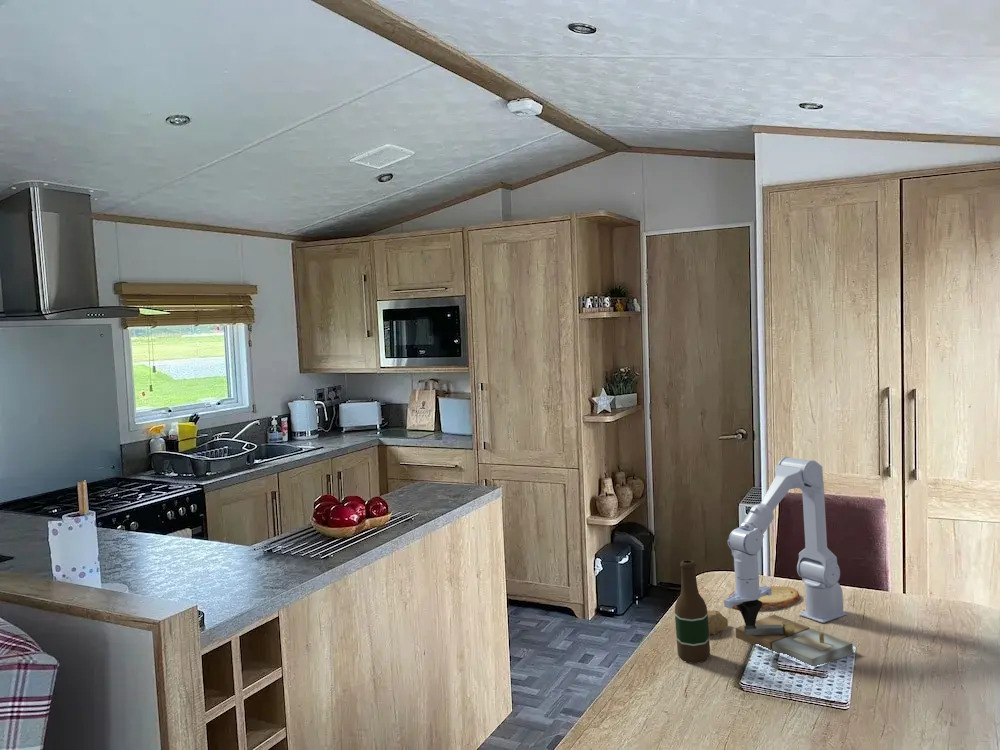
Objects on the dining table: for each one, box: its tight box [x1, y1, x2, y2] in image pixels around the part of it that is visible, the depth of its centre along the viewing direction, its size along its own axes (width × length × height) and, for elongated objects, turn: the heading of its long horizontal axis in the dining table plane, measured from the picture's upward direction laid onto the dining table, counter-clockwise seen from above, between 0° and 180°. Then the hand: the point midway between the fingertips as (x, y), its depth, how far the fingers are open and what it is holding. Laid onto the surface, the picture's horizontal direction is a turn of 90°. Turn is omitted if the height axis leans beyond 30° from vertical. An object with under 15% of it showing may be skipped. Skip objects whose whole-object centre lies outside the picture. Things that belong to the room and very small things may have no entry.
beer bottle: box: [674, 559, 711, 664], centre depth 197 cm, size 8×8×24 cm
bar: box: [744, 621, 795, 636], centre depth 201 cm, size 12×3×3 cm, turn 84°
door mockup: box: [735, 614, 854, 666], centre depth 200 cm, size 14×24×5 cm, turn 29°
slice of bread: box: [728, 585, 801, 612], centre depth 230 cm, size 18×18×4 cm
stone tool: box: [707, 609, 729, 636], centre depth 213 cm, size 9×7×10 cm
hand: (750, 628), depth 204 cm, fingers closed
